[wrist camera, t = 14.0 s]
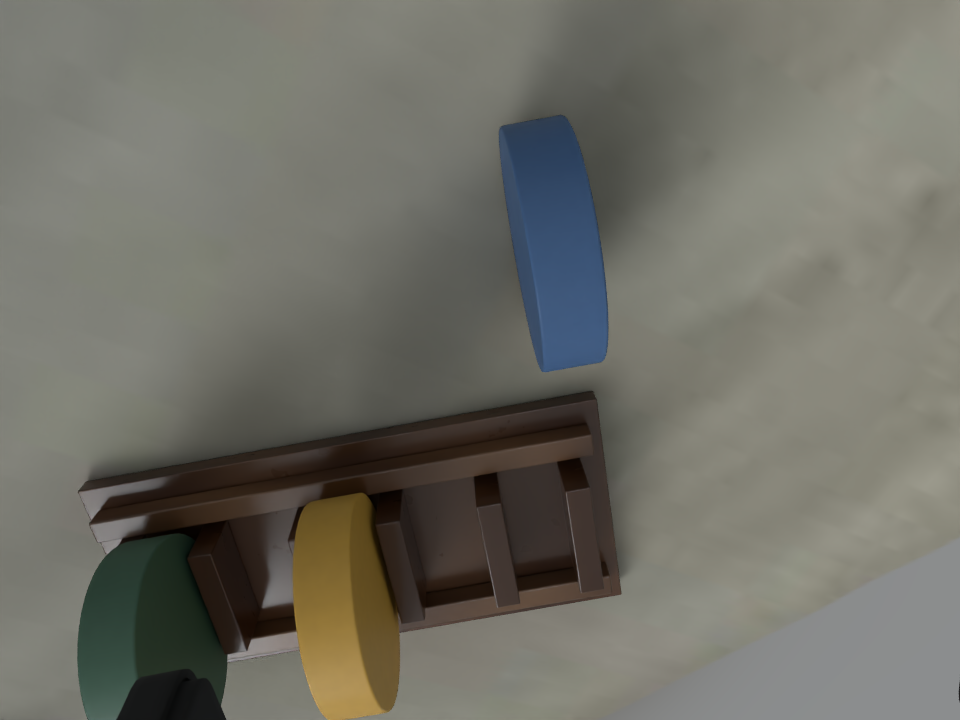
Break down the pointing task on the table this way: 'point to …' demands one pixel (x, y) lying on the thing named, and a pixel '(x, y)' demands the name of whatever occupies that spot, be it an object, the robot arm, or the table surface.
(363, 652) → the mustard disc
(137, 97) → the table surface
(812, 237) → the table surface
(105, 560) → the green disc
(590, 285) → the blue disc
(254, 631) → the disc rack
